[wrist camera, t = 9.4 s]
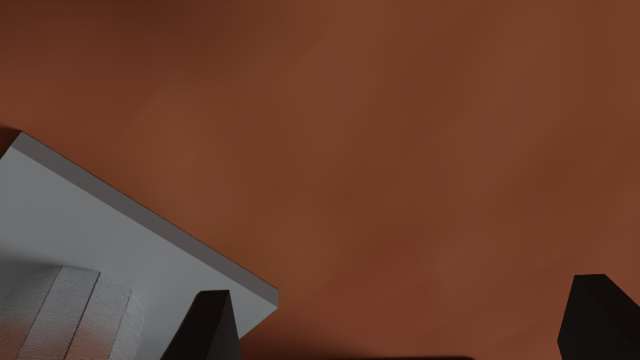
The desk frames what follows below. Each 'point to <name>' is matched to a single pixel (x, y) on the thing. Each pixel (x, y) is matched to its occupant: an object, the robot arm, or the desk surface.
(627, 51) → the desk surface
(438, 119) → the desk surface
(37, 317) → the collar
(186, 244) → the duct board
